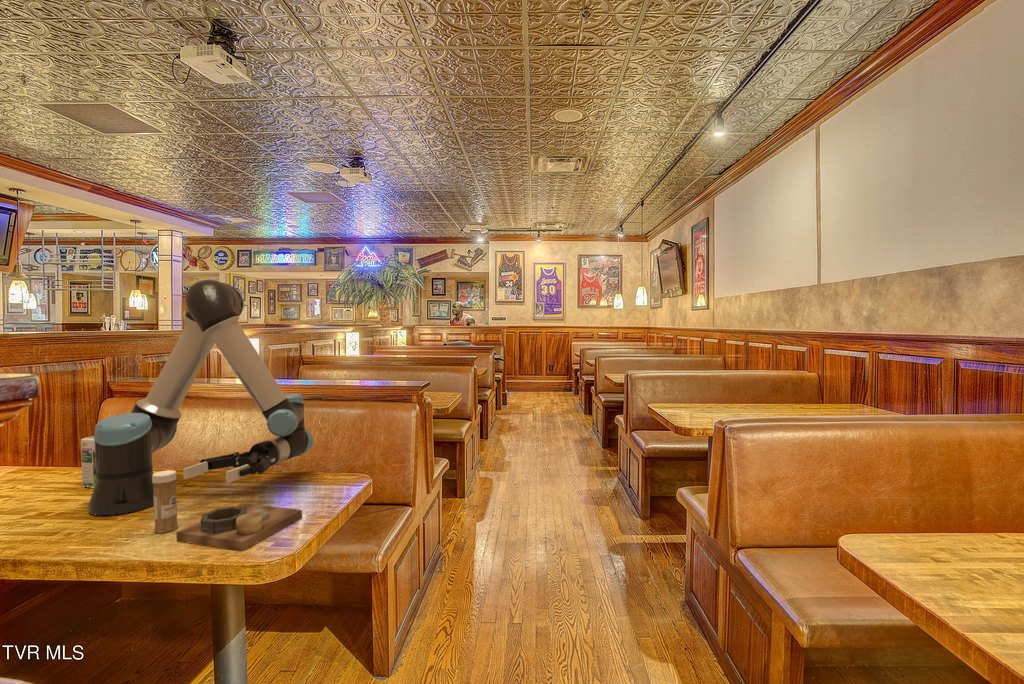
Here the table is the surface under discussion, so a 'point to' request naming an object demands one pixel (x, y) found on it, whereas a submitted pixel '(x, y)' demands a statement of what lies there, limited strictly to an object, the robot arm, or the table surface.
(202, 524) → the carrier board
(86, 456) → the syrup box
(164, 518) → the sprinkles bottle
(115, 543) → the table surface
